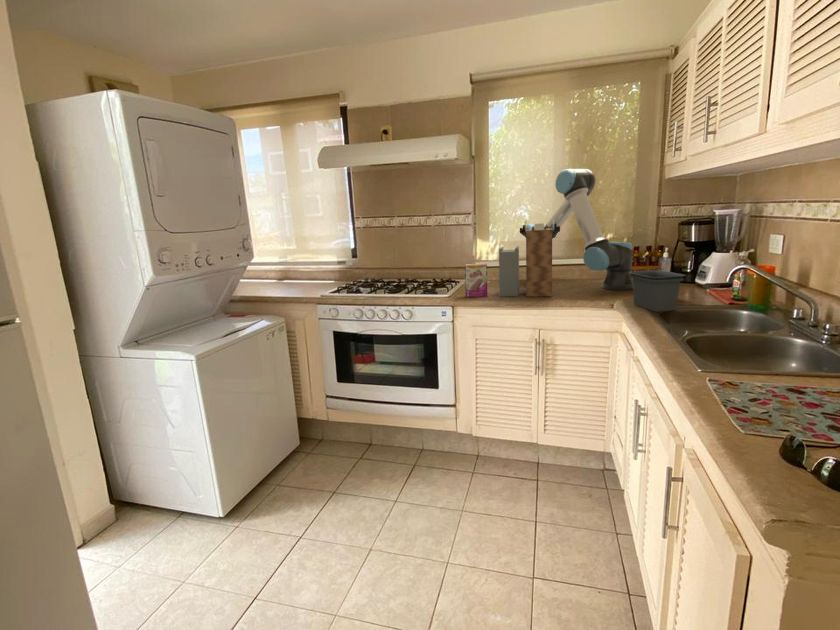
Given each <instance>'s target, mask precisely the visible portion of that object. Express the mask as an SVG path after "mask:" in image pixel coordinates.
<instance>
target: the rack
mask: <svg viewBox="0 0 840 630" xmlns="http://www.w3.org/2000/svg"><path fill="white" fill-rule="evenodd" d="M498 272H499V273H498V279H499V285H498V286H499V297H519V293H520V246H516V247H515V249H504V246H501V247H499V249H498Z"/></svg>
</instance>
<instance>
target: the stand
mask: <svg viewBox="0 0 840 630" xmlns="http://www.w3.org/2000/svg"><path fill="white" fill-rule="evenodd" d="M534 226H535V225H534ZM534 226H532V229H527V230H526V237H525V261H526V262H525V267H526V268H525V275H526V278H525V280H526V281H525V282H526V283H525V284H526V285H525V287H526V288H525V289H526V297H527V296H552V297H553V239H552V228H548V229H546V225H544V227H545V229H544V230H535V229H534ZM527 298H528V297H527Z"/></svg>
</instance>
